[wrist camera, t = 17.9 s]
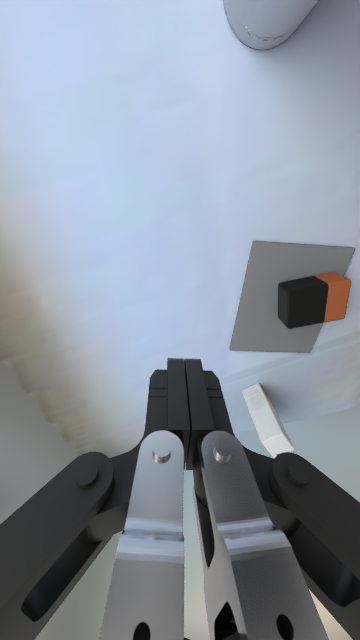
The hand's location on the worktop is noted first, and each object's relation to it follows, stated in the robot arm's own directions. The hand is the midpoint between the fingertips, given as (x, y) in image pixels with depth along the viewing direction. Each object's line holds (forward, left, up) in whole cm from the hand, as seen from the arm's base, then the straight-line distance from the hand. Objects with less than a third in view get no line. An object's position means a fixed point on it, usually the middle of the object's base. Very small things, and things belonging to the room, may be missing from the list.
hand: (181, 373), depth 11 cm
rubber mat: (+8, +20, -27) cm, 35 cm away
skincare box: (+30, +20, -27) cm, 45 cm away
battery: (+7, +18, -24) cm, 31 cm away
